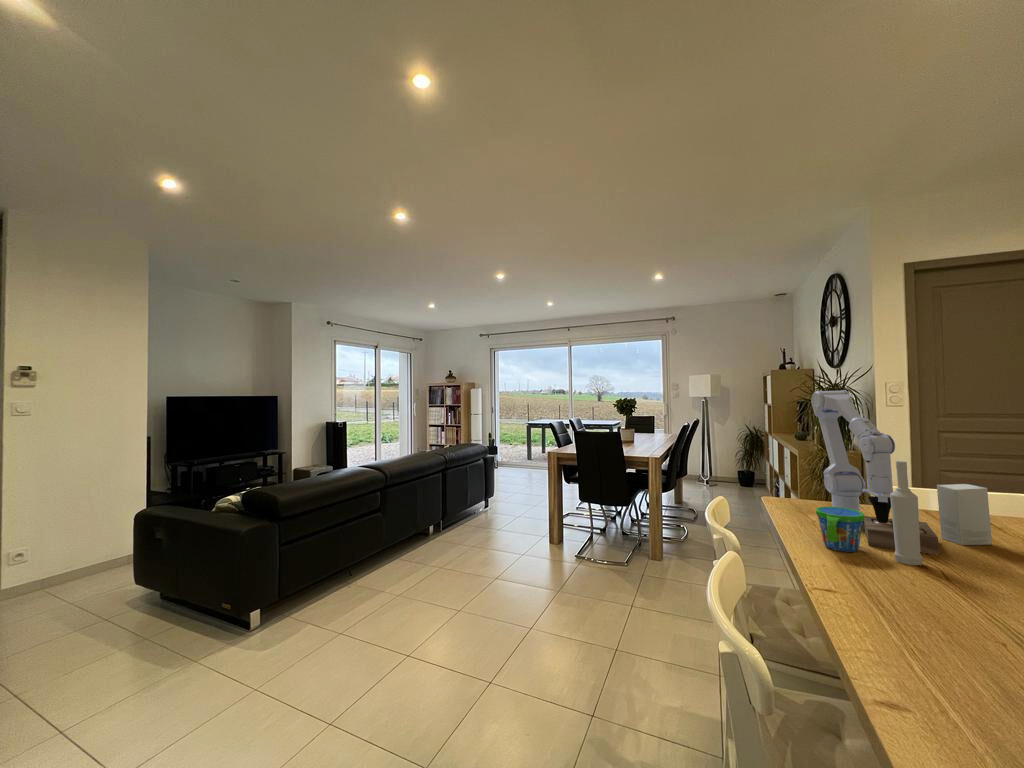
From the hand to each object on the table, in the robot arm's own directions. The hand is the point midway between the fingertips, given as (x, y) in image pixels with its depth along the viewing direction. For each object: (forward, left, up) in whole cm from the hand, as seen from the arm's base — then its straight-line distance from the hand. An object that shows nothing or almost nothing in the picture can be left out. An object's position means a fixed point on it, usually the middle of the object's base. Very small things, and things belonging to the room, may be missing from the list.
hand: (882, 522), depth 124 cm
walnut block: (+3, +3, -4) cm, 6 cm away
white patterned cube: (0, 0, -4) cm, 4 cm away
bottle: (+21, +3, -5) cm, 22 cm away
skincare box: (-6, +18, -5) cm, 20 cm away
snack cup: (+17, -10, -4) cm, 21 cm away
